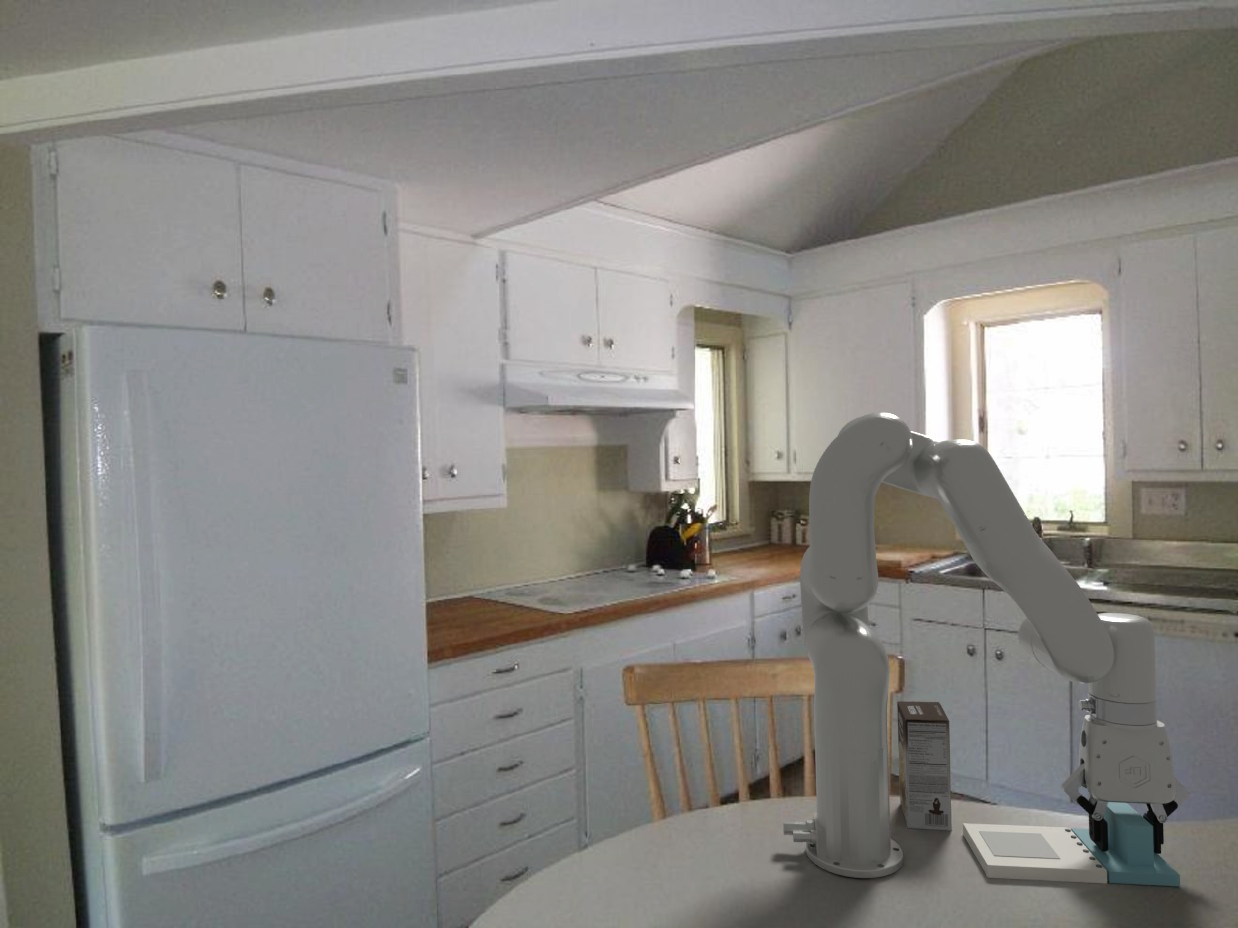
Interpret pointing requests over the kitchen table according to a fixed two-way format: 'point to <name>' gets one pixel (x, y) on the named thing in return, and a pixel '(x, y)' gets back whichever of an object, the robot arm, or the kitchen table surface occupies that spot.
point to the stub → (1129, 849)
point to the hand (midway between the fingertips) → (1126, 846)
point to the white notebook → (1033, 853)
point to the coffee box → (924, 765)
